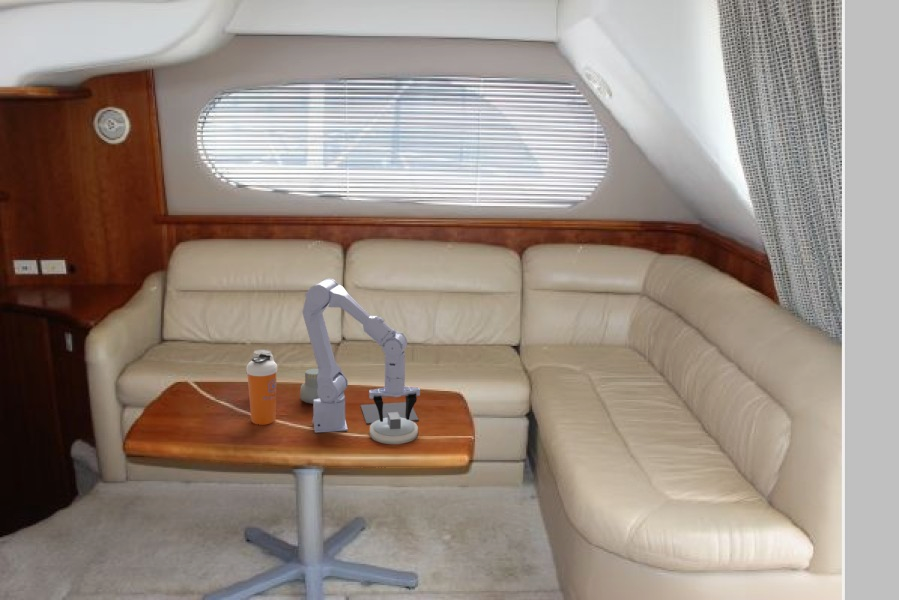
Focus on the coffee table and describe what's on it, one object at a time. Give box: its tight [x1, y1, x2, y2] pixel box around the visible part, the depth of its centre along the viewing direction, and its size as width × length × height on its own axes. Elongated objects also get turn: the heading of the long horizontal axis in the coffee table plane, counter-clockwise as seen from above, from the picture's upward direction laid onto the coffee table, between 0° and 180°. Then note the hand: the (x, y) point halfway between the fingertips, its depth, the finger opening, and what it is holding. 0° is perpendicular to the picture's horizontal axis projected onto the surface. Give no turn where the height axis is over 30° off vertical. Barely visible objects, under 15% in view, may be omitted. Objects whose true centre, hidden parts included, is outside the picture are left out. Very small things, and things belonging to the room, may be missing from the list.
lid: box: [373, 412, 415, 436], centre depth 211 cm, size 12×12×4 cm
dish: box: [369, 421, 419, 445], centre depth 212 cm, size 14×14×2 cm
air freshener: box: [299, 368, 319, 405], centre depth 233 cm, size 11×8×10 cm
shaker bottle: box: [245, 354, 278, 426], centre depth 216 cm, size 9×9×20 cm
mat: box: [360, 401, 420, 425], centre depth 227 cm, size 16×14×1 cm
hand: (394, 419), depth 211 cm, fingers open, 7 cm apart
